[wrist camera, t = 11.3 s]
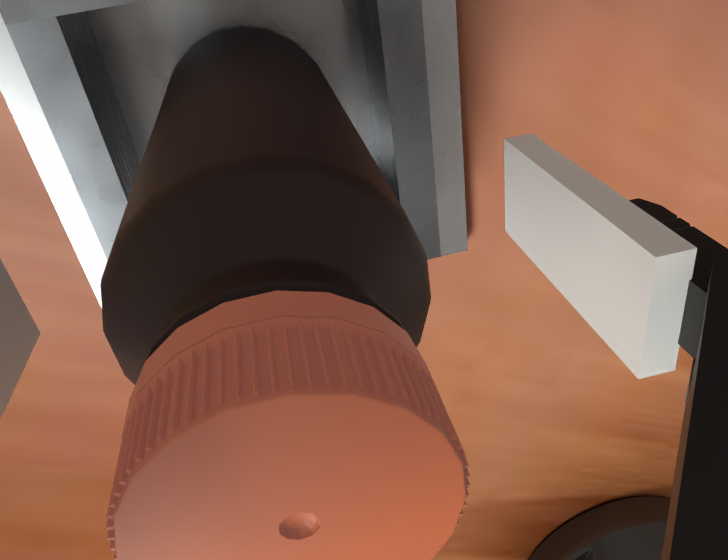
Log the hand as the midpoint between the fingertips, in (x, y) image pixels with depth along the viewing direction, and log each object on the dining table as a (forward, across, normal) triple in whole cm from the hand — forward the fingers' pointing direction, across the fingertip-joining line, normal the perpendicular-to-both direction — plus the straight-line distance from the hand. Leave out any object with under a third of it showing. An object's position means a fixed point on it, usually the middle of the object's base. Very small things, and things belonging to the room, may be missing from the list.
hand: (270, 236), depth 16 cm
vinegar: (+11, 0, 0) cm, 11 cm away
